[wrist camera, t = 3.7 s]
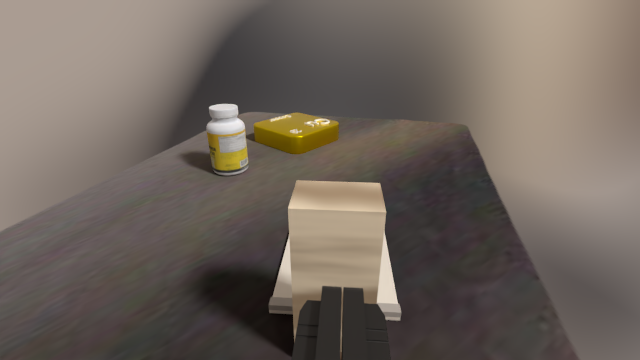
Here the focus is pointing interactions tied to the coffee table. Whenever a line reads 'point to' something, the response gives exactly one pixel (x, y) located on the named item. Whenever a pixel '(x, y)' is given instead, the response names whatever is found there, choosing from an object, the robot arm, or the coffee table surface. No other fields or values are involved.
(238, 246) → the coffee table surface
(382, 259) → the mat
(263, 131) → the element tile
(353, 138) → the coffee table surface
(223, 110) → the pill bottle
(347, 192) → the birch block
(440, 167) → the coffee table surface
